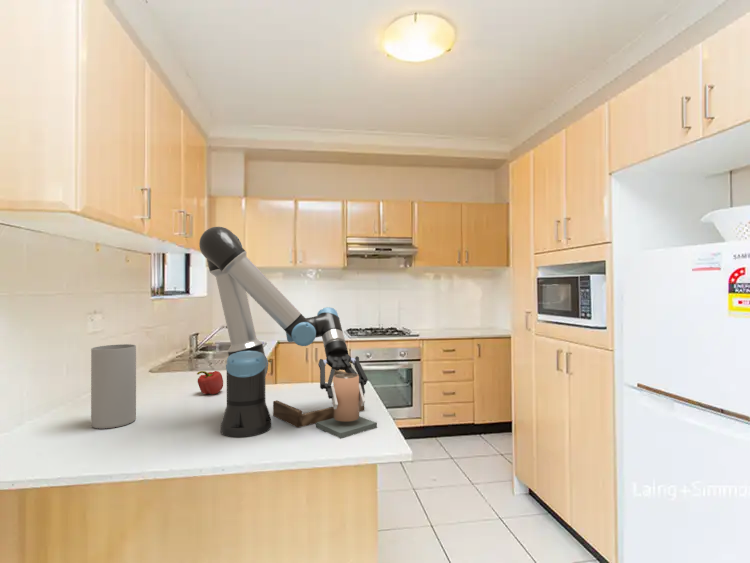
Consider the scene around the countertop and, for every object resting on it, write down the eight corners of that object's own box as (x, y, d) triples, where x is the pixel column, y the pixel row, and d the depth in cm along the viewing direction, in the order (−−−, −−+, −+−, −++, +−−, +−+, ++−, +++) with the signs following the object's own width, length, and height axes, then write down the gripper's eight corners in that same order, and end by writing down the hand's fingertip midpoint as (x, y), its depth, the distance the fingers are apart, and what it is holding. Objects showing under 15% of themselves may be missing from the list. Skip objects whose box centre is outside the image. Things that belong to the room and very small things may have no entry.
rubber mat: (340, 438, 121) (340, 433, 121) (316, 427, 131) (316, 422, 131) (376, 427, 130) (376, 422, 130) (351, 417, 140) (351, 413, 140)
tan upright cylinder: (337, 422, 125) (337, 379, 126) (330, 415, 133) (330, 374, 133) (362, 419, 128) (362, 377, 128) (354, 412, 136) (354, 372, 136)
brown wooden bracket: (297, 427, 131) (297, 389, 131) (273, 415, 143) (273, 380, 143) (364, 410, 148) (364, 376, 148) (337, 401, 161) (336, 370, 161)
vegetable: (201, 398, 166) (201, 373, 166) (191, 394, 174) (191, 370, 174) (227, 393, 174) (227, 369, 174) (217, 389, 181) (217, 366, 181)
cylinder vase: (90, 432, 128) (90, 351, 128) (92, 421, 139) (92, 346, 139) (136, 424, 135) (136, 347, 135) (135, 415, 145) (135, 343, 146)
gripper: (361, 350, 149) (378, 407, 134) (303, 354, 141) (314, 415, 126) (366, 337, 144) (384, 395, 129) (306, 340, 137) (318, 402, 121)
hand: (349, 405), depth 128 cm, fingers closed on tan upright cylinder, 8 cm apart
